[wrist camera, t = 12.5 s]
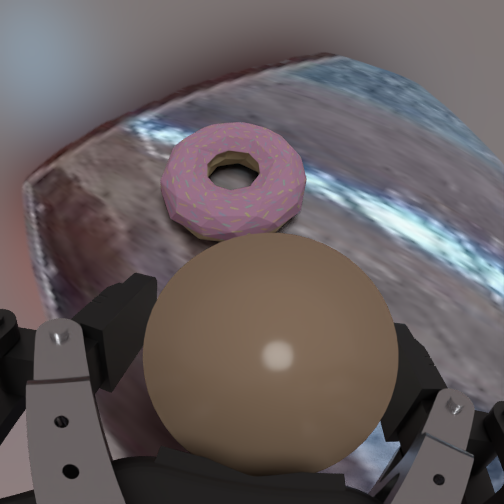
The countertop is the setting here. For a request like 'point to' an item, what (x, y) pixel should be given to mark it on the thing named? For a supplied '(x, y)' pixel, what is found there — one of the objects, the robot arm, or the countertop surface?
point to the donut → (239, 200)
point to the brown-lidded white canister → (270, 355)
